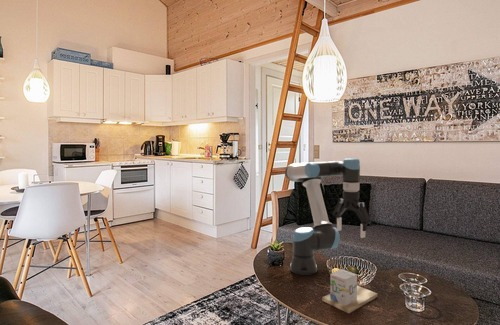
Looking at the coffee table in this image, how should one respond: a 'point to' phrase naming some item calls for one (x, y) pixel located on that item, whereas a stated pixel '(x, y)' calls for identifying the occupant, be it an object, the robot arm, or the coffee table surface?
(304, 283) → the coffee table surface
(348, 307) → the board
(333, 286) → the ink box
